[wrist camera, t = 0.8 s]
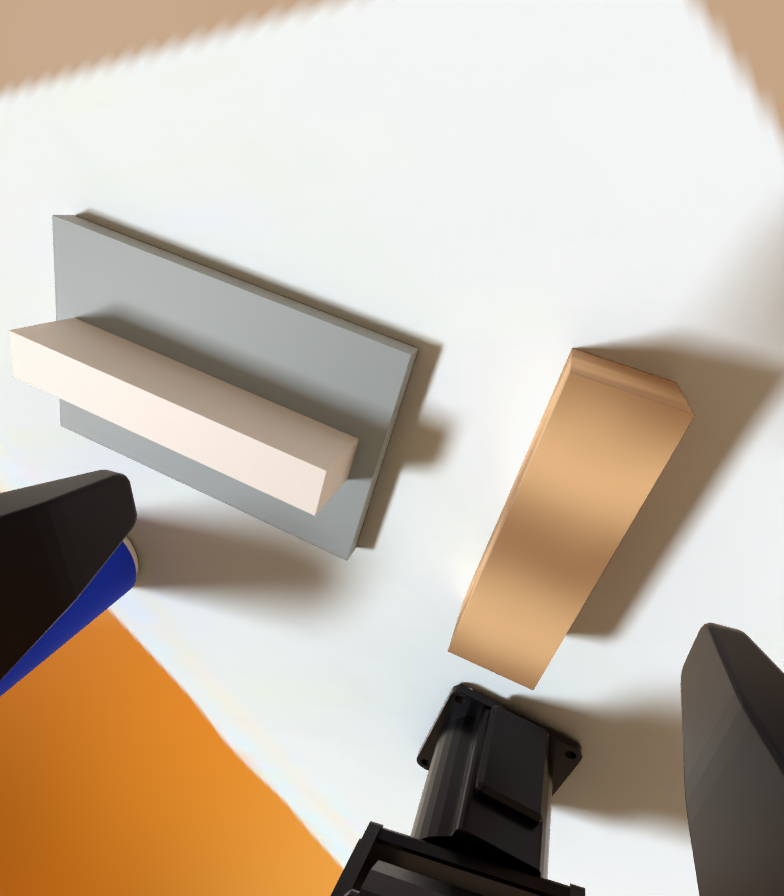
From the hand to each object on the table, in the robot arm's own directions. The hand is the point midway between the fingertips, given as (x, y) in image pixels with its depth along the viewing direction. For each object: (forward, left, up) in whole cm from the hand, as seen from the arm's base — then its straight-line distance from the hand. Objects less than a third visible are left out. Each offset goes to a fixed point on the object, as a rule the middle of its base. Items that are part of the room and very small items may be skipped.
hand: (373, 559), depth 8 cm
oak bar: (-5, -4, -13) cm, 14 cm away
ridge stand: (-6, +11, -12) cm, 17 cm away
